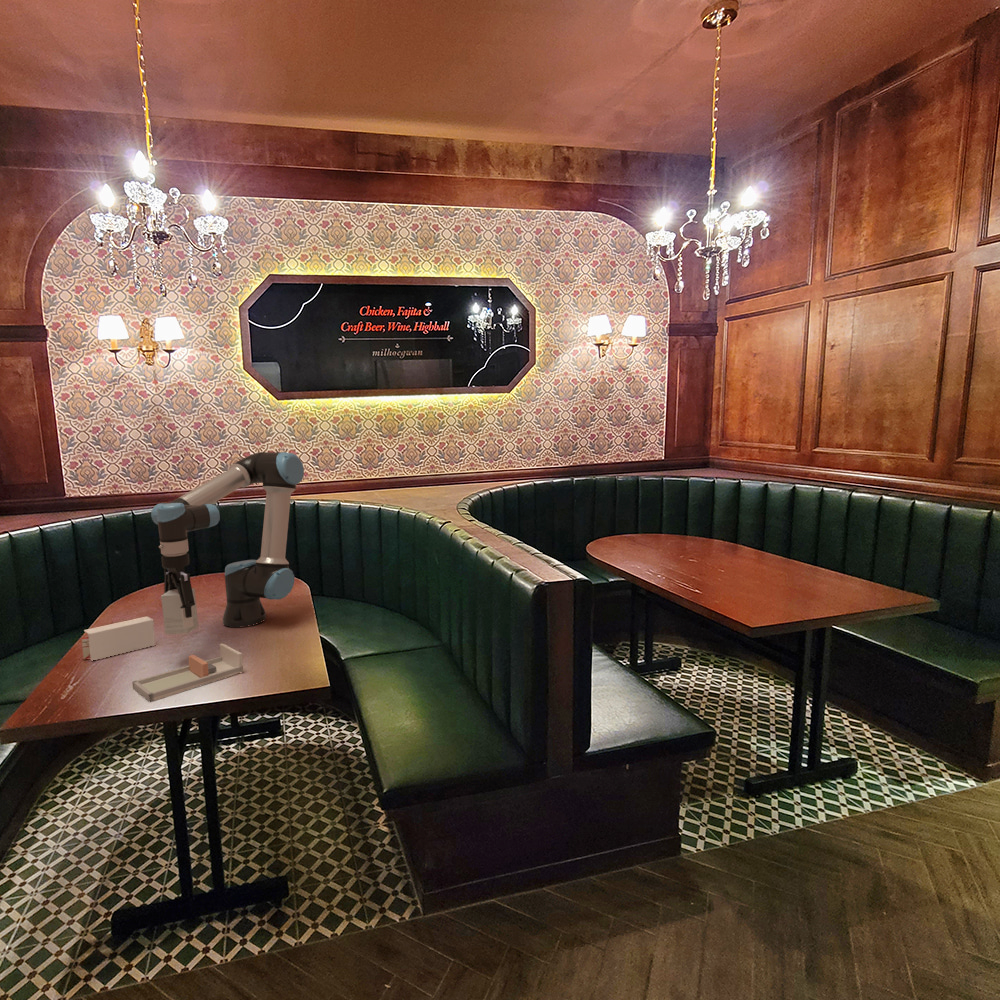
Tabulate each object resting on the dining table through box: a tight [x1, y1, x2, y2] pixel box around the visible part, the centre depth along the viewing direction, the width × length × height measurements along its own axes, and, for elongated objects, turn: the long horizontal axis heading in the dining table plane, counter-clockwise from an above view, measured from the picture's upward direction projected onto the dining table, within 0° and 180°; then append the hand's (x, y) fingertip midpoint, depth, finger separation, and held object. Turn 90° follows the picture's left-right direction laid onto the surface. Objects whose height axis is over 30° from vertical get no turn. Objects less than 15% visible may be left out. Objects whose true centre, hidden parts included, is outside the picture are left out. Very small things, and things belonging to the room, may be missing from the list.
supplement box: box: [160, 587, 199, 635], centre depth 192 cm, size 7×7×13 cm
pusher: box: [188, 654, 216, 678], centre depth 183 cm, size 5×10×4 cm, turn 48°
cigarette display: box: [81, 615, 156, 662], centre depth 203 cm, size 20×6×9 cm, turn 138°
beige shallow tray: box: [131, 643, 244, 703], centre depth 180 cm, size 26×13×6 cm, turn 138°
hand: (181, 623), depth 192 cm, fingers closed on supplement box, 10 cm apart
